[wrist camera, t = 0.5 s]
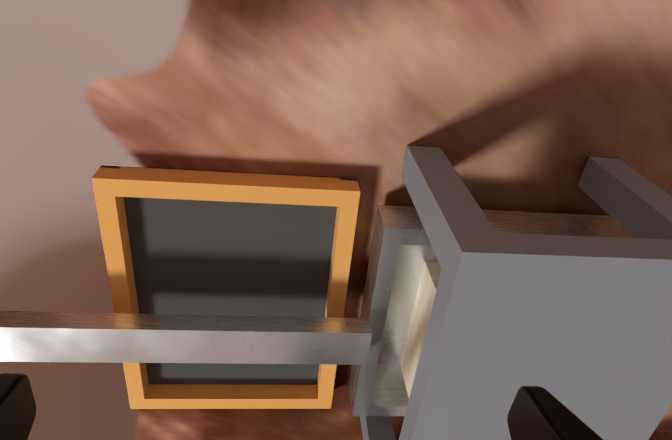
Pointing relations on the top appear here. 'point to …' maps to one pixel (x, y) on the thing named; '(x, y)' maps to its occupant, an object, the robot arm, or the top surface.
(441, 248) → the grey table stand
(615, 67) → the top surface
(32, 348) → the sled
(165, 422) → the top surface
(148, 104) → the top surface
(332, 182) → the wooden picture frame
